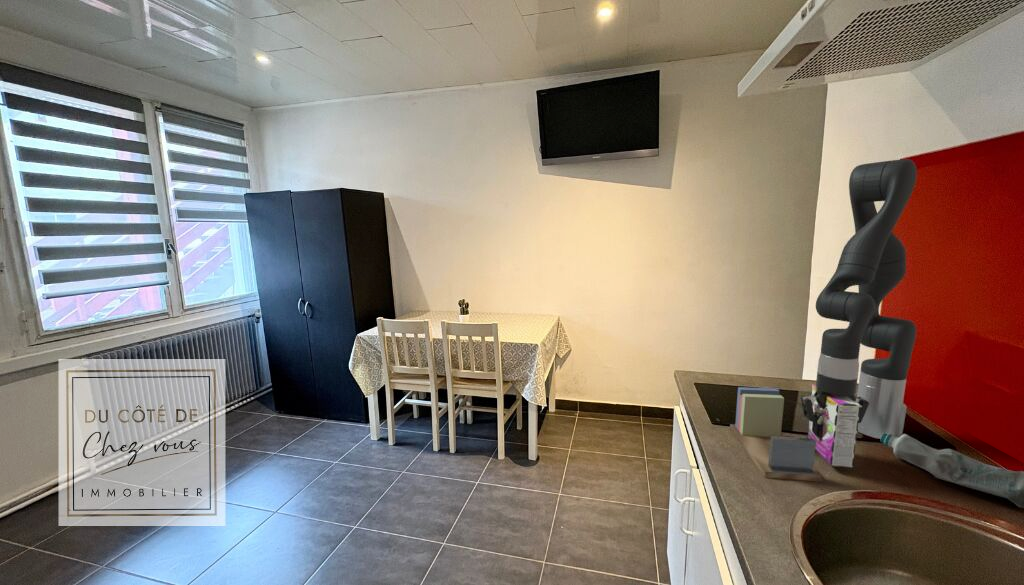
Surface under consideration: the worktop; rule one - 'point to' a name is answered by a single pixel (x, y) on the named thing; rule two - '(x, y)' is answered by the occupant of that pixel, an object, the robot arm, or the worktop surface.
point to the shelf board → (767, 456)
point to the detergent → (959, 468)
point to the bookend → (792, 455)
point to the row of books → (759, 412)
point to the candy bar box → (837, 430)
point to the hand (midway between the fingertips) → (830, 436)
